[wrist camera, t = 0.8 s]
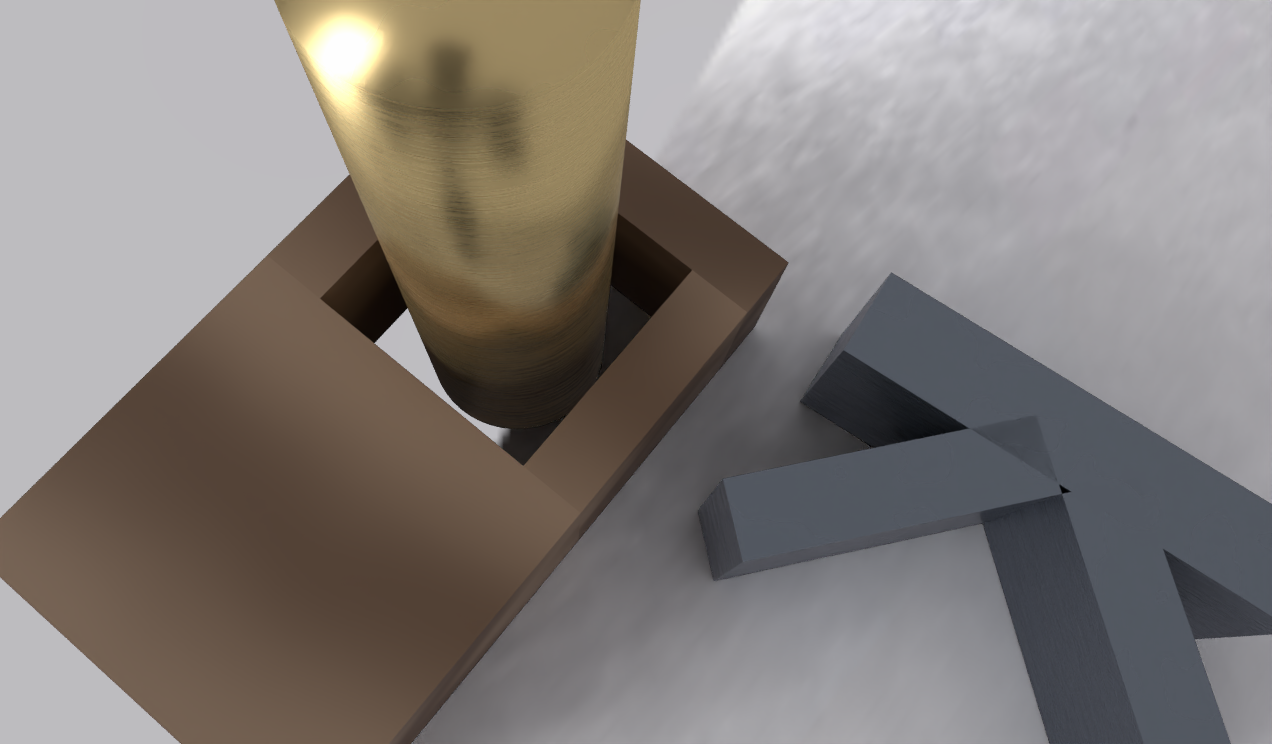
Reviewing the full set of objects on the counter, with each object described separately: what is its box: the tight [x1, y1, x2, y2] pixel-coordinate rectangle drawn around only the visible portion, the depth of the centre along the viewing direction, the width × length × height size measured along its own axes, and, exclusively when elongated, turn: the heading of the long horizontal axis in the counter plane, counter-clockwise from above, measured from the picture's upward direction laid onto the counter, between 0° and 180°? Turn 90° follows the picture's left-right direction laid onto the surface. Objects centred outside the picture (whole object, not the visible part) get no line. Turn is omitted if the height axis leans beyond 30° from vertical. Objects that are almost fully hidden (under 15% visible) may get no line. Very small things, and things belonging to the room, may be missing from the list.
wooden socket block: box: [0, 140, 789, 744], centre depth 22 cm, size 14×8×4 cm, turn 141°
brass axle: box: [275, 0, 640, 429], centre depth 18 cm, size 4×4×14 cm
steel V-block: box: [698, 273, 1272, 744], centre depth 22 cm, size 7×11×4 cm, turn 57°
